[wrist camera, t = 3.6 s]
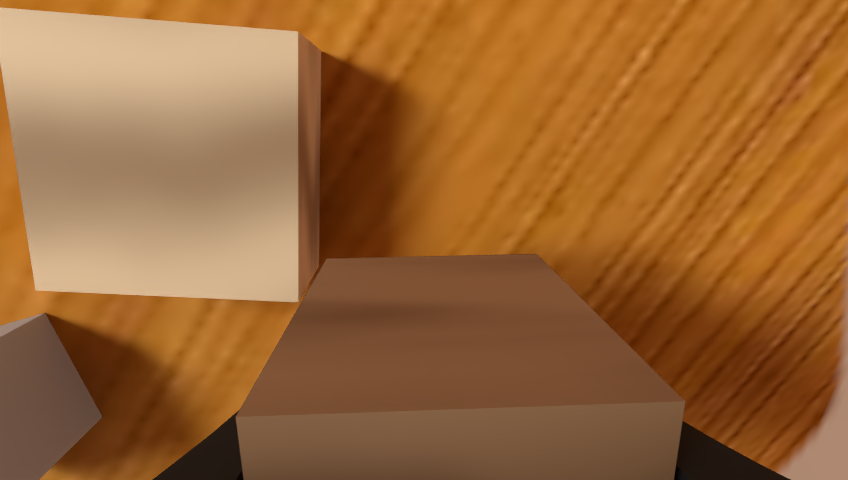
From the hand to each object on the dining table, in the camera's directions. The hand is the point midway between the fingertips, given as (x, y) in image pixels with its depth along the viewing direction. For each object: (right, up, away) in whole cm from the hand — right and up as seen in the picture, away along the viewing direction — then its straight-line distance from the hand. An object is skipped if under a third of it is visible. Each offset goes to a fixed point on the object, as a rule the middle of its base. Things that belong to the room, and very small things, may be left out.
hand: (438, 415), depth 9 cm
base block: (-8, +7, +8) cm, 13 cm away
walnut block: (0, +1, +2) cm, 2 cm away
